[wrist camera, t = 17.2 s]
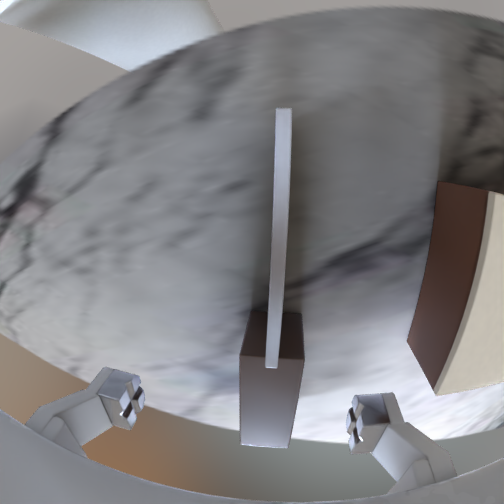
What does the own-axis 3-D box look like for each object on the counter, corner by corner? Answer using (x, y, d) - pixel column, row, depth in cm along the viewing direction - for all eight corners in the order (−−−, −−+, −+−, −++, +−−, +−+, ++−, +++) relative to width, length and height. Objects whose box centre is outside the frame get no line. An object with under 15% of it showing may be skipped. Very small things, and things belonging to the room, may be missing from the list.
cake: (437, 180, 10) (495, 192, 6) (520, 198, 9) (574, 215, 5) (406, 341, 12) (435, 396, 8) (487, 335, 11) (522, 376, 8)
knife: (255, 125, 10) (238, 106, 7) (314, 128, 10) (328, 110, 6) (248, 398, 14) (237, 454, 10) (290, 401, 14) (287, 458, 10)
